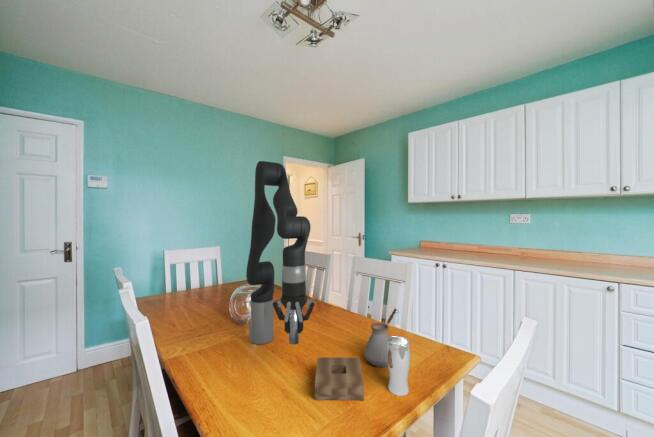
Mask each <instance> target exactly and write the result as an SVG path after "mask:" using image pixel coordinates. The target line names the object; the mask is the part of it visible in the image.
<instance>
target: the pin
mask: <svg viewBox="0 0 654 437" xmlns="http://www.w3.org/2000/svg"><path fill="white" fill-rule="evenodd" d="M298 322H299V318H298V314H297V309H290V313H289V333H288V343H289V344H290V345H292V346H294V345H298V344H299V343H300V334H298Z"/></svg>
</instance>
